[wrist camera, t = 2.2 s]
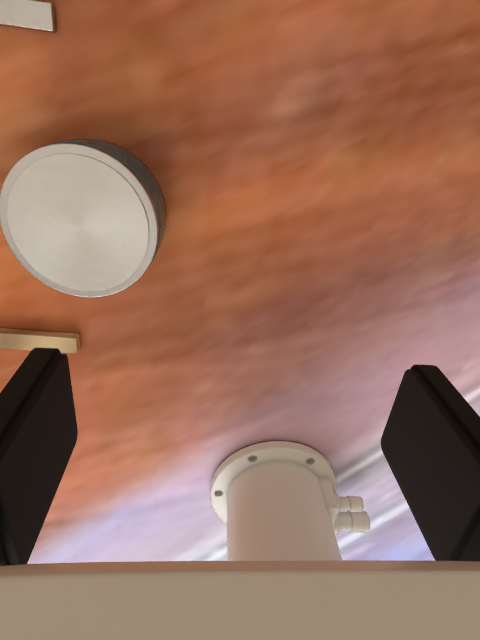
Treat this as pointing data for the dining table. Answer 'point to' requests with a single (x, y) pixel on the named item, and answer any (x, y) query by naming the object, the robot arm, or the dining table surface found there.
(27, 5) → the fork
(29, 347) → the spoon
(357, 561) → the robot arm
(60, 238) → the tin
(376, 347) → the dining table surface
